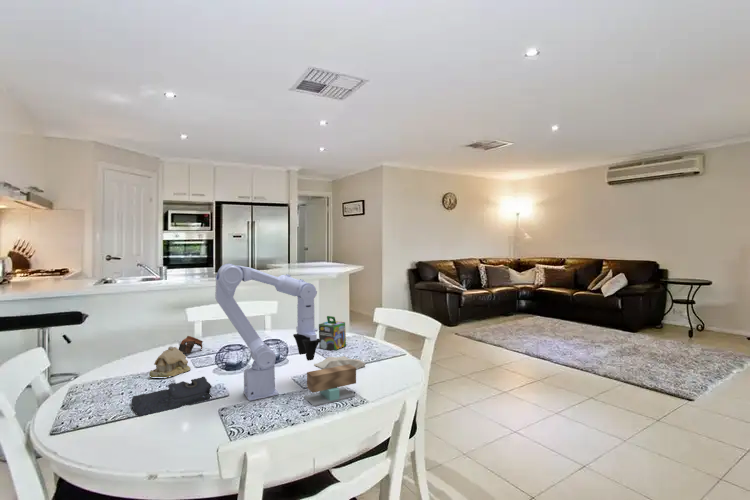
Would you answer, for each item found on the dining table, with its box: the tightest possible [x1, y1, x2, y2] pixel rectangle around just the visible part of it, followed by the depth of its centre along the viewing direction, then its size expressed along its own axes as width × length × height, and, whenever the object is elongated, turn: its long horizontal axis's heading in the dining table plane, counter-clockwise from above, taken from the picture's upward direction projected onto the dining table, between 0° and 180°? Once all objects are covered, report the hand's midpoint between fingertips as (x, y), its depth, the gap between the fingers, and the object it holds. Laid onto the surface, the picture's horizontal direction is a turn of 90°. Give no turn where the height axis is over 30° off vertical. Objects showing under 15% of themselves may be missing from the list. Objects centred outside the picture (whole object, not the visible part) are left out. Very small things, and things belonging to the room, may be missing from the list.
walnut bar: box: [306, 364, 357, 394], centre depth 123 cm, size 15×4×5 cm, turn 121°
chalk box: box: [318, 315, 347, 351], centre depth 179 cm, size 9×9×15 cm
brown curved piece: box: [177, 335, 204, 354], centre depth 172 cm, size 12×9×8 cm
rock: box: [313, 355, 366, 370], centre depth 150 cm, size 21×5×15 cm
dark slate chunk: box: [131, 376, 213, 417], centre depth 122 cm, size 15×22×5 cm
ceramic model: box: [148, 346, 191, 378], centre depth 146 cm, size 14×11×10 cm
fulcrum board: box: [303, 386, 356, 407], centre depth 123 cm, size 14×8×4 cm, turn 121°
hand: (306, 356), depth 132 cm, fingers open, 7 cm apart
